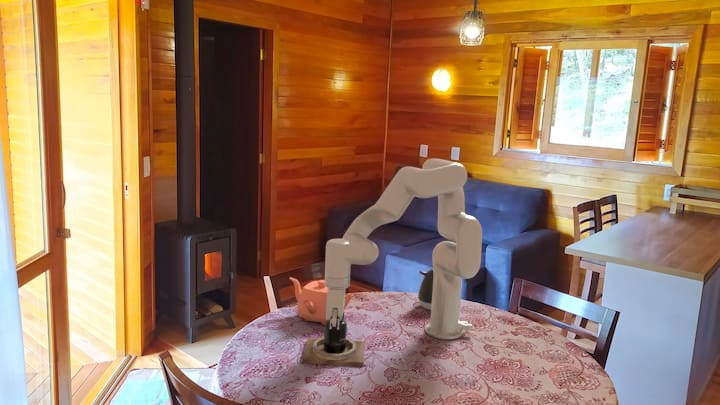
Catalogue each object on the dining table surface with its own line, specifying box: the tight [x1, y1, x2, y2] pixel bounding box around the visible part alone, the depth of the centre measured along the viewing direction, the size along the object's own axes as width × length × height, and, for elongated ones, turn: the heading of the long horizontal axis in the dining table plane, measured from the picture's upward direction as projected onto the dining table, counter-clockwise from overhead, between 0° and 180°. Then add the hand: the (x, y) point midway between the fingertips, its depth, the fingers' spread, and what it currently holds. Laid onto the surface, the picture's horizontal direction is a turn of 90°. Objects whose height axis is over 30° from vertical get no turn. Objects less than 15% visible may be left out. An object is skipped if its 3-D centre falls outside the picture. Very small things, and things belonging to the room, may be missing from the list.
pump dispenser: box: [417, 268, 433, 311], centre depth 203 cm, size 10×10×15 cm
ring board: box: [301, 336, 365, 367], centre depth 163 cm, size 18×14×3 cm
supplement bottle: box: [323, 310, 348, 354], centre depth 163 cm, size 7×7×12 cm
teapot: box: [289, 277, 354, 326], centre depth 189 cm, size 18×18×14 cm
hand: (335, 334), depth 163 cm, fingers open, 9 cm apart
